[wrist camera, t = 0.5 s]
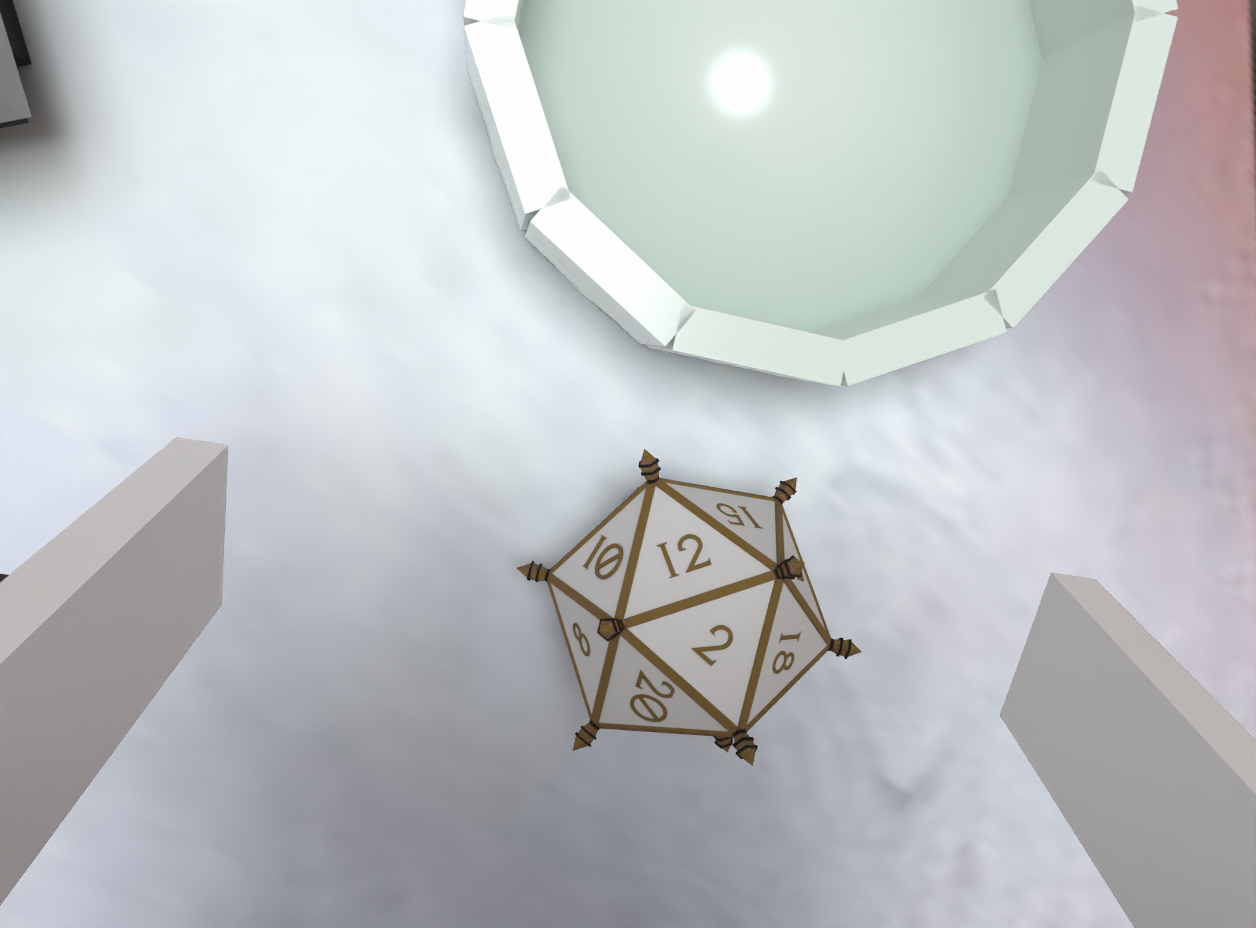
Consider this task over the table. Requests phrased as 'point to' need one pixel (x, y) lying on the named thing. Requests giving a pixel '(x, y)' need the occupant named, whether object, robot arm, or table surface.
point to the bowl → (816, 162)
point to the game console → (12, 68)
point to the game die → (688, 611)
